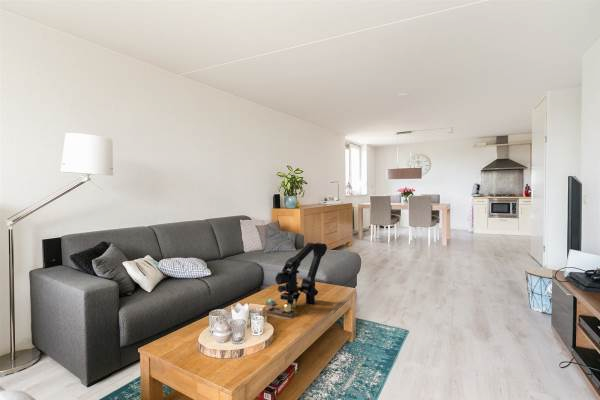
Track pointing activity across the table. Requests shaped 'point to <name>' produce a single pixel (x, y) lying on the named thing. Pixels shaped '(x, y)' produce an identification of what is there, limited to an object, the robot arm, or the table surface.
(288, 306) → the cylinder
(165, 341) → the table surface
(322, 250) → the robot arm
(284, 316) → the brown compartment tray
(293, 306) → the cylinder
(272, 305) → the button housing
